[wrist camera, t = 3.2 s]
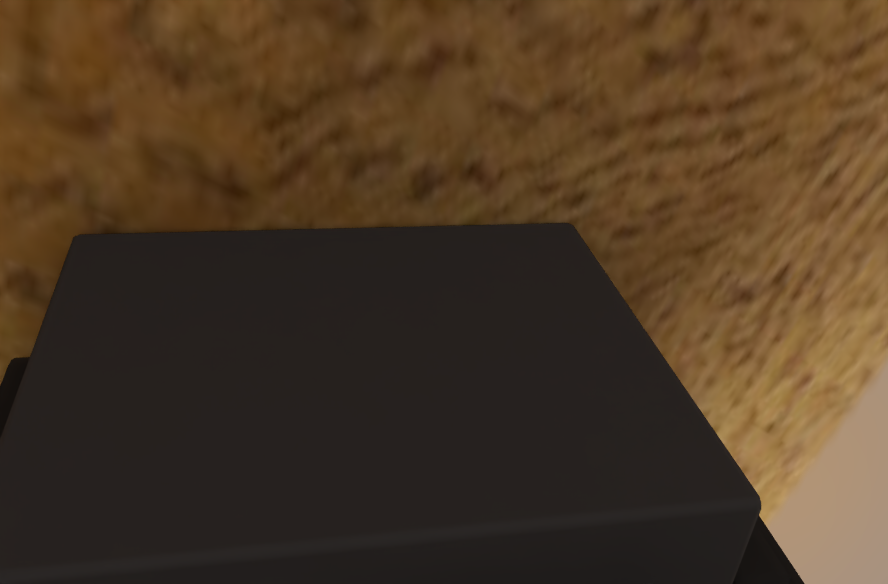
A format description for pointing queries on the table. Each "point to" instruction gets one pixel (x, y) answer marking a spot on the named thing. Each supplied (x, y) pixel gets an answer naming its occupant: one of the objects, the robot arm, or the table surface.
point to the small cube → (358, 418)
